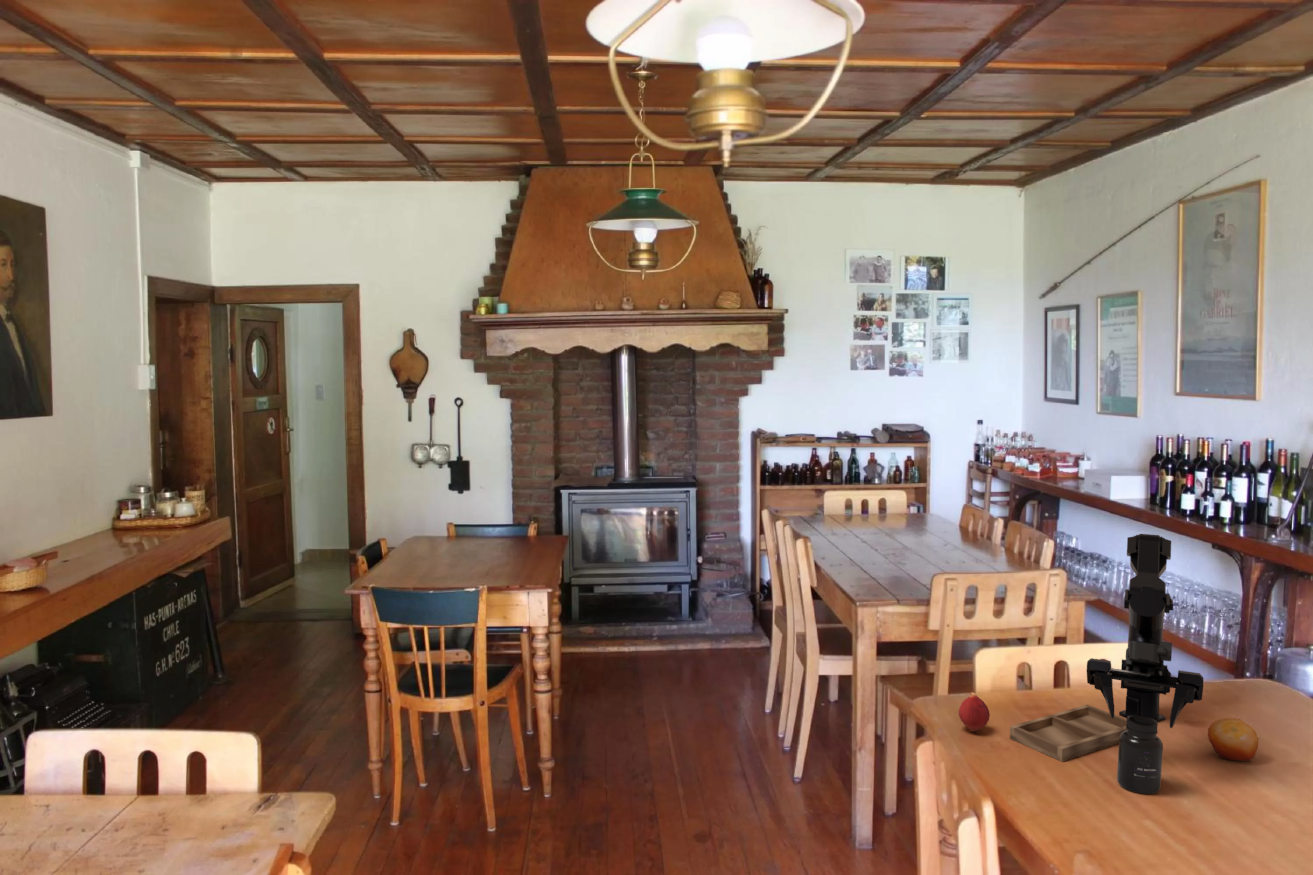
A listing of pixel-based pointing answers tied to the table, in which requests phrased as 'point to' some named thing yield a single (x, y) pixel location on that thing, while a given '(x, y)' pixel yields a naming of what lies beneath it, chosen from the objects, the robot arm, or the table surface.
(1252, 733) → the fruit
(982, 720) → the onion
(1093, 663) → the robot arm
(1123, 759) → the supplement bottle
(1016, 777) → the table surface
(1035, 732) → the holder
